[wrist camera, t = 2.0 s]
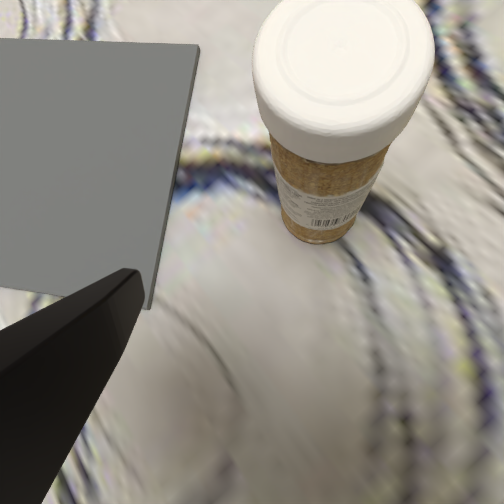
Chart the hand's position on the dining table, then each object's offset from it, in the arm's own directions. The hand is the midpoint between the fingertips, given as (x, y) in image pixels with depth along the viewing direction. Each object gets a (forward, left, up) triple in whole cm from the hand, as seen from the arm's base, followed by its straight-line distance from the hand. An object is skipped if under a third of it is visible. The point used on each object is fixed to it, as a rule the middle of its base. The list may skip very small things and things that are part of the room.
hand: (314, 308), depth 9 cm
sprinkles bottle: (+4, +5, -13) cm, 14 cm away
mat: (-9, +18, -12) cm, 24 cm away
